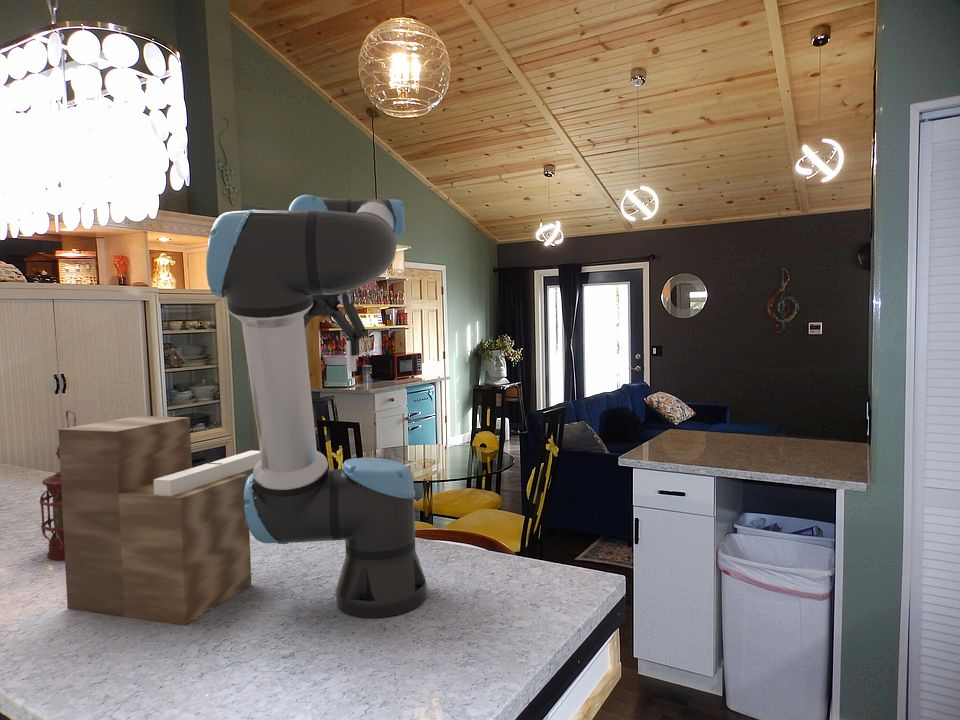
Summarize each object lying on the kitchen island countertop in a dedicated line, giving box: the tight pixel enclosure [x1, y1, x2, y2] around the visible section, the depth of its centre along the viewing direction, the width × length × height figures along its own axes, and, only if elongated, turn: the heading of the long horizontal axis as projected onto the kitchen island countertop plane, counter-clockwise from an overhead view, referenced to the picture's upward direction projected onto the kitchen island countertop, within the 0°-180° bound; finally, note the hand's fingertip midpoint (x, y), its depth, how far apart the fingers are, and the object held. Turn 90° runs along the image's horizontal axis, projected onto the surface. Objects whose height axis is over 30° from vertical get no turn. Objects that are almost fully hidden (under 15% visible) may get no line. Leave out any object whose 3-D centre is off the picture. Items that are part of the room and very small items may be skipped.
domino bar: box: [154, 449, 261, 496], centre depth 109 cm, size 24×3×3 cm, turn 163°
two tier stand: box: [57, 415, 252, 626], centre depth 107 cm, size 16×24×30 cm, turn 73°
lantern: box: [39, 409, 77, 561], centre depth 130 cm, size 12×12×30 cm
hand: (323, 371), depth 134 cm, fingers open, 13 cm apart
